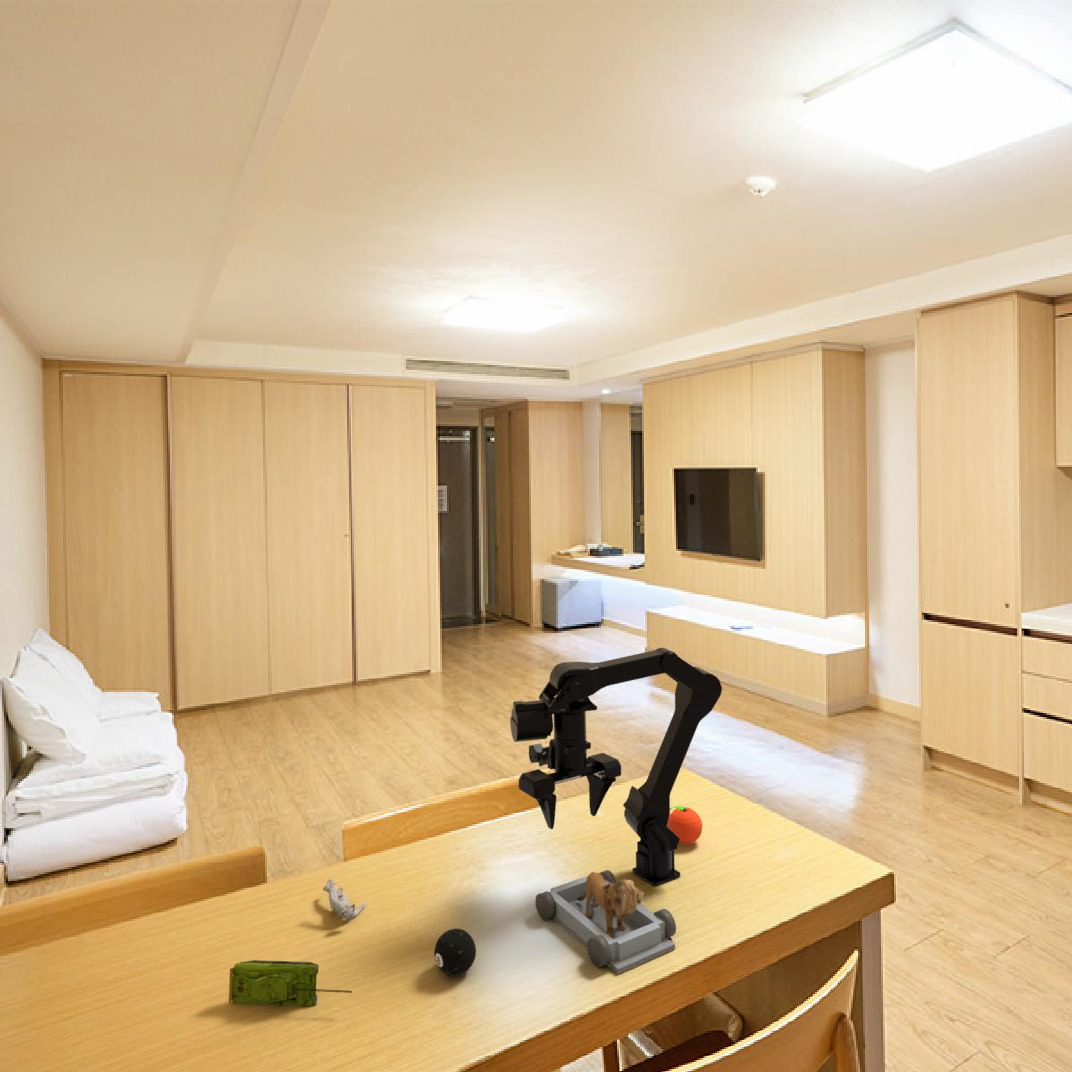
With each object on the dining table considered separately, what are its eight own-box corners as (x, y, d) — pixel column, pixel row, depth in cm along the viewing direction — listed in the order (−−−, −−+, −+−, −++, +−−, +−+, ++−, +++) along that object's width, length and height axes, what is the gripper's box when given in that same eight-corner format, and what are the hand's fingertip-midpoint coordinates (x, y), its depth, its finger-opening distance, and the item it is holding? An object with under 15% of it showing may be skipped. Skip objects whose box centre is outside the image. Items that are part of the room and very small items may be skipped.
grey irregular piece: (356, 896, 135) (380, 903, 126) (340, 923, 132) (363, 932, 123) (322, 873, 133) (344, 878, 124) (305, 899, 131) (326, 907, 121)
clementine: (656, 839, 152) (655, 805, 151) (680, 829, 156) (679, 796, 156) (686, 854, 145) (685, 818, 145) (710, 843, 150) (709, 808, 149)
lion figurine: (649, 936, 117) (648, 880, 117) (624, 949, 114) (623, 892, 114) (589, 897, 129) (587, 846, 129) (564, 908, 126) (563, 855, 126)
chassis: (598, 884, 135) (598, 862, 135) (682, 945, 116) (682, 920, 116) (531, 909, 127) (530, 886, 127) (609, 978, 109) (608, 951, 108)
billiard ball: (484, 971, 111) (482, 932, 111) (450, 990, 107) (449, 949, 107) (460, 953, 116) (459, 916, 115) (427, 971, 112) (426, 932, 111)
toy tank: (244, 946, 110) (209, 974, 100) (369, 950, 108) (346, 980, 99) (241, 998, 109) (205, 1032, 99) (368, 1003, 107) (344, 1039, 98)
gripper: (586, 715, 144) (587, 794, 145) (501, 734, 135) (504, 819, 135) (622, 730, 135) (624, 814, 136) (534, 751, 125) (537, 842, 126)
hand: (572, 821), depth 134 cm, fingers open, 9 cm apart
